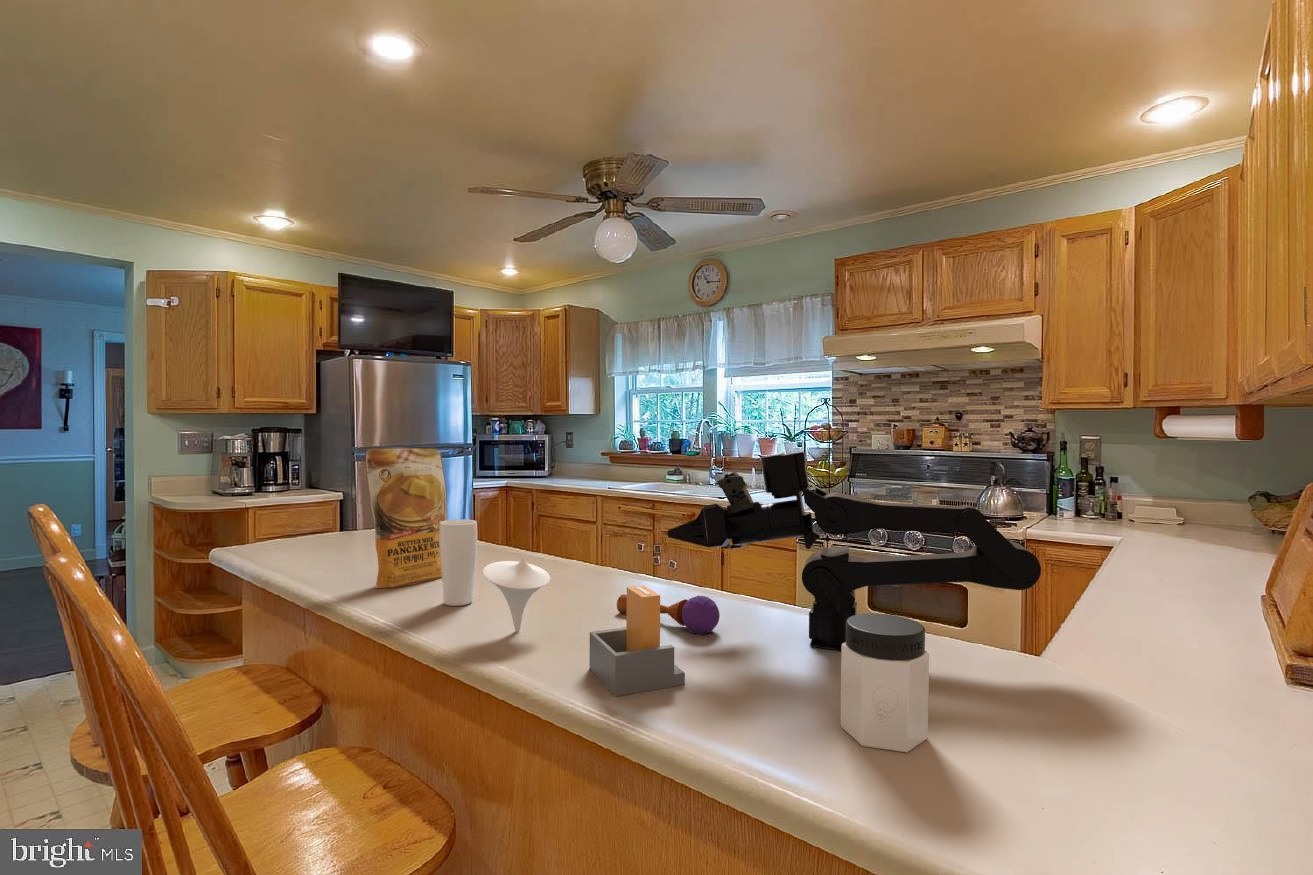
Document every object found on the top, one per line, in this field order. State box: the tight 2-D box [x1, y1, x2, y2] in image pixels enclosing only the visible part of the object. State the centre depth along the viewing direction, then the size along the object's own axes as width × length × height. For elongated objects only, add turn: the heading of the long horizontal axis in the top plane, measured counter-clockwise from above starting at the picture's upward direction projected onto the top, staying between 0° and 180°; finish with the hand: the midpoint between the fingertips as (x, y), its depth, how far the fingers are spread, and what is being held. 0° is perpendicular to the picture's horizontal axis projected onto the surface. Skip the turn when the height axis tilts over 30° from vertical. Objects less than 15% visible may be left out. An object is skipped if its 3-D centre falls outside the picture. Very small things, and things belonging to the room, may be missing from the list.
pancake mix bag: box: [364, 447, 448, 589], centre depth 138 cm, size 7×19×28 cm, turn 142°
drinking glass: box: [439, 518, 478, 607], centre depth 122 cm, size 7×7×15 cm
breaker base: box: [588, 626, 686, 697], centre depth 87 cm, size 10×10×5 cm
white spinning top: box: [482, 557, 551, 633], centre depth 106 cm, size 10×11×12 cm
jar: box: [840, 612, 930, 754], centre depth 72 cm, size 9×8×12 cm
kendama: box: [616, 593, 720, 635], centre depth 111 cm, size 6×6×20 cm
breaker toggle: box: [625, 585, 661, 651], centre depth 88 cm, size 2×6×10 cm, turn 24°
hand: (676, 534), depth 107 cm, fingers open, 9 cm apart
